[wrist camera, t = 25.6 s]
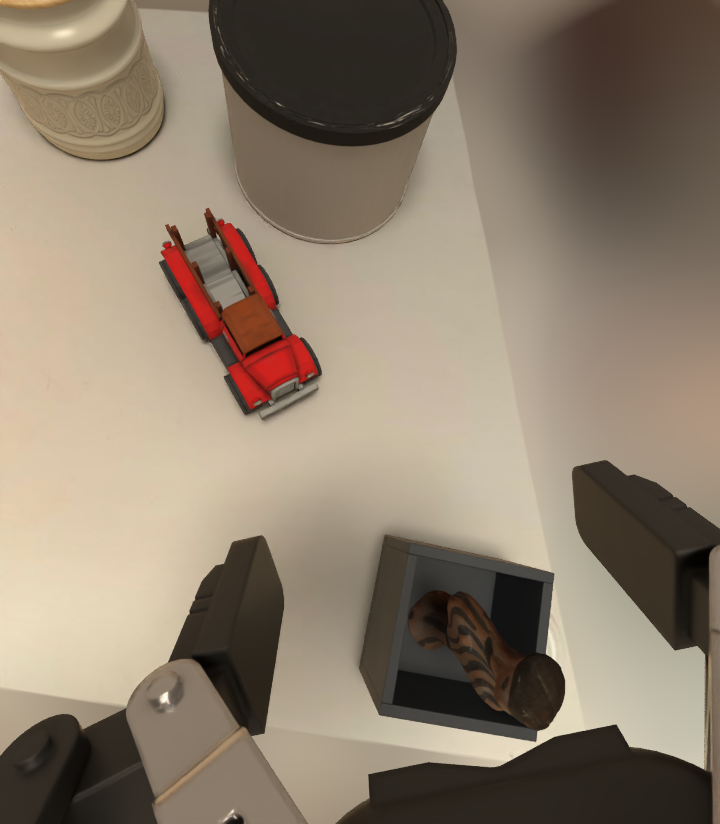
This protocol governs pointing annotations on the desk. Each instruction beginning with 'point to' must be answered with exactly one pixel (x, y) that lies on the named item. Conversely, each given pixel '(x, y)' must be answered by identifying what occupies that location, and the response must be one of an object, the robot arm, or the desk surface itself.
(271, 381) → the toy truck
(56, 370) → the desk surface
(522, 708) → the figurine
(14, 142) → the desk surface
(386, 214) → the container
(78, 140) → the jar
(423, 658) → the bin
